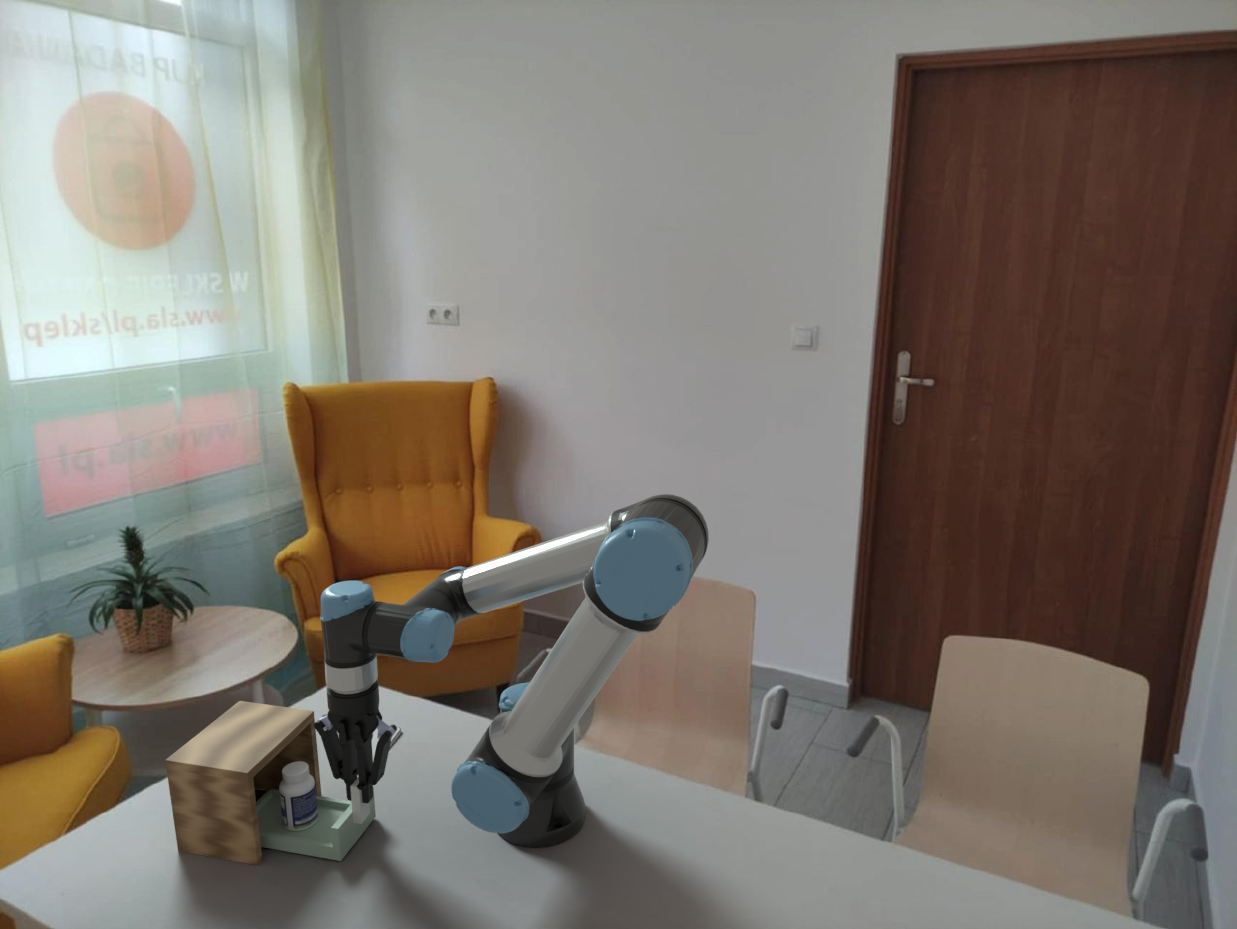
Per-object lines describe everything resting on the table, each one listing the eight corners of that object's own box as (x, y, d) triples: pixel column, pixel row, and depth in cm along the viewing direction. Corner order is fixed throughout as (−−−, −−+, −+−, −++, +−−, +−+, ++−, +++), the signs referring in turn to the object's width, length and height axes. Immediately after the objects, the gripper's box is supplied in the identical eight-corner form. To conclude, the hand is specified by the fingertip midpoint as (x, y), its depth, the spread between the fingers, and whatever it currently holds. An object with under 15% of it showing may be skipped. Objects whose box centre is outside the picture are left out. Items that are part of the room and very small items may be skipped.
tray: (375, 816, 148) (373, 786, 147) (340, 861, 138) (338, 829, 136) (271, 799, 152) (268, 769, 151) (230, 841, 142) (226, 810, 141)
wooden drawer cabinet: (321, 794, 154) (313, 711, 150) (257, 865, 137) (247, 773, 133) (249, 783, 157) (239, 700, 153) (178, 850, 140) (165, 760, 136)
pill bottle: (324, 813, 147) (319, 760, 144) (307, 834, 142) (302, 780, 139) (294, 809, 148) (289, 756, 146) (276, 830, 143) (270, 776, 140)
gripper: (403, 676, 138) (410, 809, 144) (326, 665, 141) (336, 797, 147) (380, 700, 131) (388, 840, 137) (299, 689, 134) (311, 826, 140)
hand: (361, 817), depth 142 cm, fingers closed
